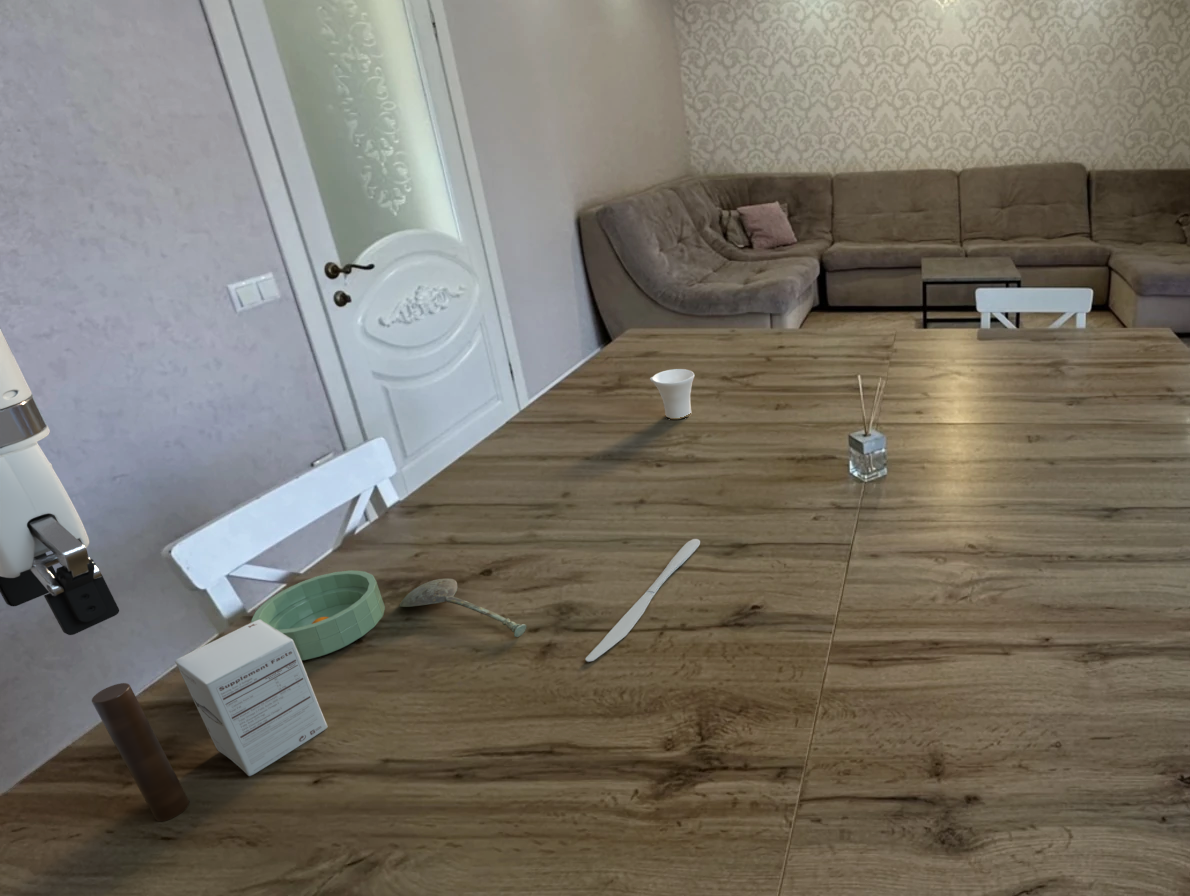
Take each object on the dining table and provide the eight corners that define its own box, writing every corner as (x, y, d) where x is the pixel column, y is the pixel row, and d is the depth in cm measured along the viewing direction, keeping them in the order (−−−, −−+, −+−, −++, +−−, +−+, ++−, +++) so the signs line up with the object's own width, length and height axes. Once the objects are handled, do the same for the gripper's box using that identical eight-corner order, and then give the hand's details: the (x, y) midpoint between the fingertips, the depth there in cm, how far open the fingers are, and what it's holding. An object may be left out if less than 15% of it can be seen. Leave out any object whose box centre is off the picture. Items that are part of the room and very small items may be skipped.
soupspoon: (439, 584, 105) (393, 613, 99) (432, 565, 103) (385, 593, 98) (543, 620, 96) (499, 654, 90) (537, 600, 95) (491, 633, 89)
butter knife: (707, 539, 113) (690, 536, 113) (600, 663, 88) (578, 659, 89) (707, 543, 113) (690, 539, 113) (600, 667, 88) (579, 662, 89)
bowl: (251, 679, 86) (237, 646, 85) (279, 618, 97) (267, 587, 95) (377, 644, 92) (366, 612, 90) (391, 589, 102) (382, 560, 101)
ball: (308, 637, 91) (313, 639, 93) (332, 632, 92) (336, 634, 94) (307, 618, 91) (312, 621, 93) (331, 613, 93) (336, 615, 95)
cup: (656, 411, 162) (650, 370, 159) (699, 406, 165) (694, 365, 161) (655, 427, 154) (648, 384, 151) (699, 421, 157) (694, 379, 153)
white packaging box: (215, 752, 77) (171, 659, 72) (297, 704, 83) (261, 615, 78) (247, 780, 73) (203, 684, 69) (330, 728, 80) (294, 637, 75)
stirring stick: (151, 826, 69) (85, 706, 63) (160, 806, 71) (98, 688, 65) (184, 814, 70) (123, 696, 65) (193, 795, 72) (134, 679, 67)
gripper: (-157, 432, 55) (-49, 612, 61) (-57, 471, 49) (52, 666, 55) (-11, 398, 62) (74, 563, 68) (93, 428, 56) (175, 607, 62)
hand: (64, 609), depth 62 cm, fingers open, 9 cm apart
